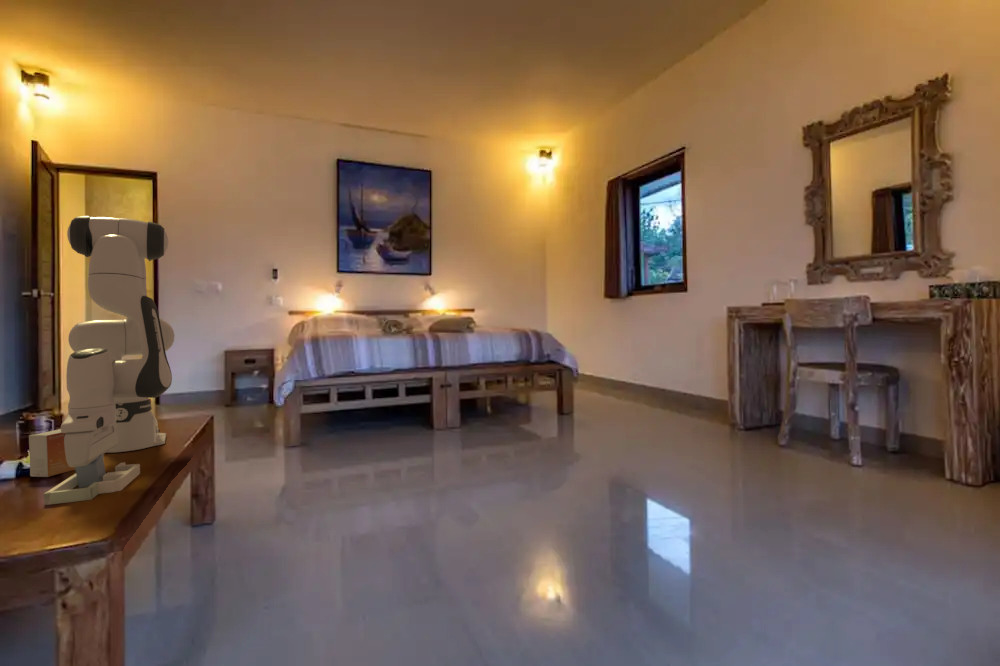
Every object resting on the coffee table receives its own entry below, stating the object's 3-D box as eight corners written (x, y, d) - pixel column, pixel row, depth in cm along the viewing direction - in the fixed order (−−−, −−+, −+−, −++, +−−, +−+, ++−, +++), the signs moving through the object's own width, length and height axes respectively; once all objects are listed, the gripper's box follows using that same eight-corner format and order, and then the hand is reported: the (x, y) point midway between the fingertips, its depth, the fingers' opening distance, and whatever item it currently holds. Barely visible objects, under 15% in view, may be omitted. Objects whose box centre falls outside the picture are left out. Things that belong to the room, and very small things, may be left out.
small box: (47, 478, 126) (45, 435, 126) (29, 477, 127) (27, 435, 127) (80, 468, 134) (78, 428, 134) (62, 467, 135) (61, 428, 135)
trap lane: (87, 475, 127) (86, 466, 127) (144, 469, 131) (143, 460, 131) (44, 505, 107) (43, 493, 106) (113, 497, 111) (113, 486, 111)
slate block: (86, 478, 121) (81, 456, 119) (106, 476, 123) (102, 454, 121) (79, 488, 118) (74, 465, 116) (100, 486, 119) (95, 463, 117)
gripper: (94, 410, 130) (97, 464, 131) (56, 427, 111) (60, 490, 112) (123, 408, 133) (126, 461, 133) (91, 424, 113) (95, 486, 114)
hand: (96, 474), depth 122 cm, fingers closed, pressing on slate block
